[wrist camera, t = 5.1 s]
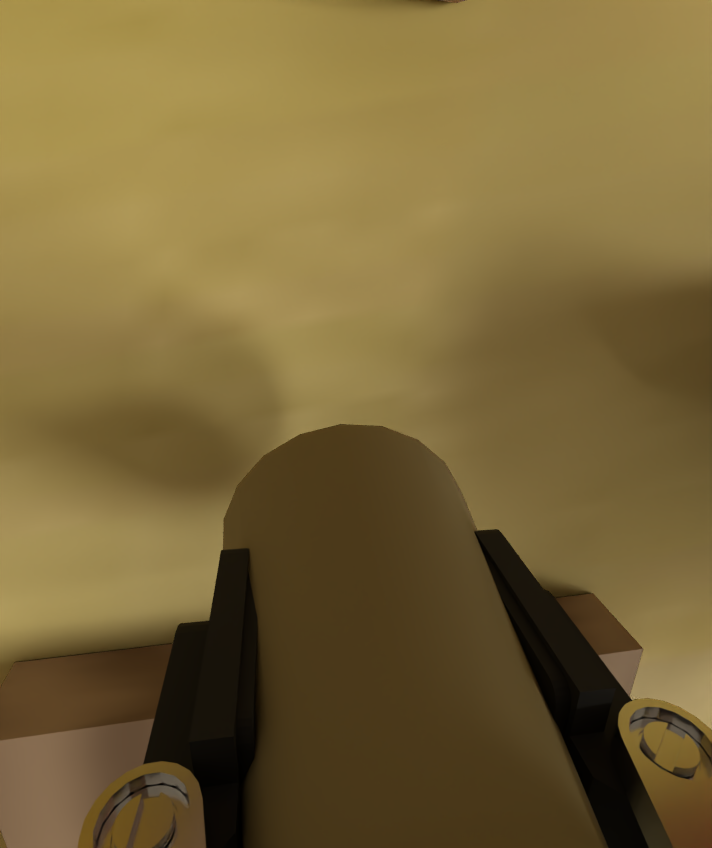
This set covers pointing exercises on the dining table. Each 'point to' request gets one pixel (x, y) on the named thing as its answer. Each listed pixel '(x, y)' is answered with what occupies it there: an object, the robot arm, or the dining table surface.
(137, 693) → the dock
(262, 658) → the brown rounded bulbous piece
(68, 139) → the dining table surface
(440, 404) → the dining table surface
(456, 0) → the hourglass
